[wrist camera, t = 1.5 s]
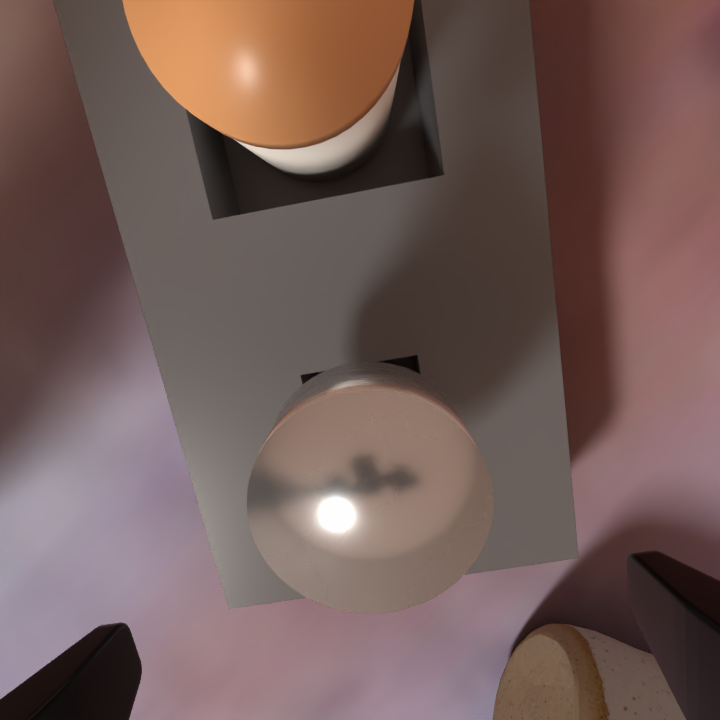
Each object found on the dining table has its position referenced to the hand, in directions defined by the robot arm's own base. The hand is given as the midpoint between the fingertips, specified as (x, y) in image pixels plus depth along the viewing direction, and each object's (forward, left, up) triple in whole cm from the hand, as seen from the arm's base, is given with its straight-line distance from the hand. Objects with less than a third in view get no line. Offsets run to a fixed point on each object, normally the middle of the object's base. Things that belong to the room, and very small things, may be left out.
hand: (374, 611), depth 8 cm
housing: (0, +5, -12) cm, 13 cm away
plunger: (0, 0, -10) cm, 10 cm away
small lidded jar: (0, +10, -12) cm, 15 cm away
